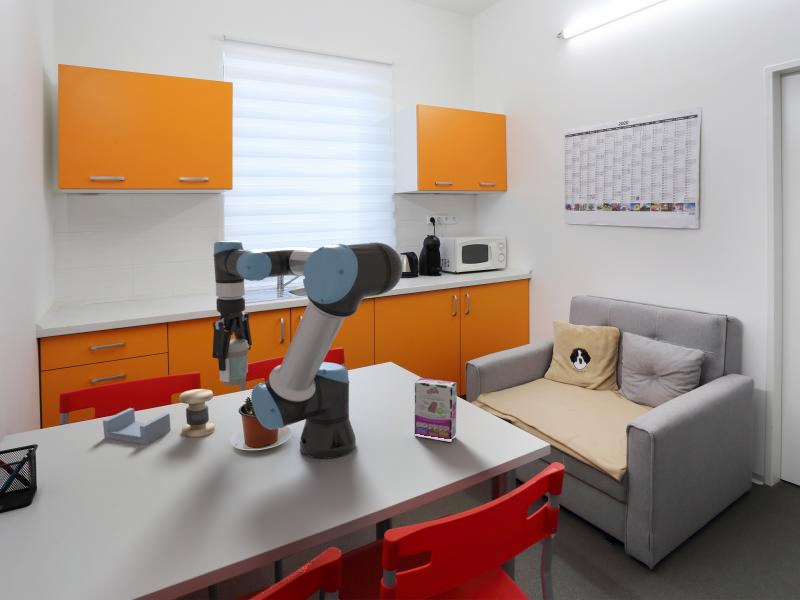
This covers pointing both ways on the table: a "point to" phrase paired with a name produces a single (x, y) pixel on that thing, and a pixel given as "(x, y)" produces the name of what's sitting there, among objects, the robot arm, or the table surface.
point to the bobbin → (197, 413)
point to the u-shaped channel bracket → (135, 427)
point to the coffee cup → (237, 361)
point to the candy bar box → (435, 408)
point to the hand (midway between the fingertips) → (234, 376)
